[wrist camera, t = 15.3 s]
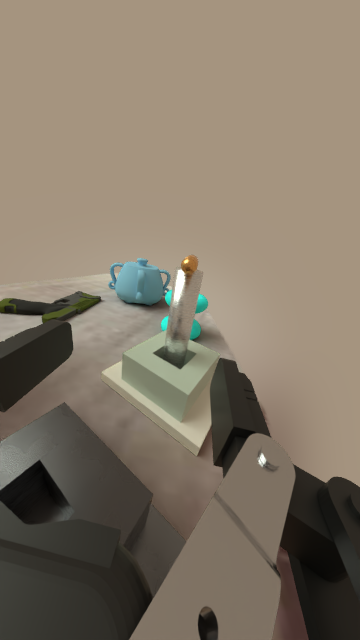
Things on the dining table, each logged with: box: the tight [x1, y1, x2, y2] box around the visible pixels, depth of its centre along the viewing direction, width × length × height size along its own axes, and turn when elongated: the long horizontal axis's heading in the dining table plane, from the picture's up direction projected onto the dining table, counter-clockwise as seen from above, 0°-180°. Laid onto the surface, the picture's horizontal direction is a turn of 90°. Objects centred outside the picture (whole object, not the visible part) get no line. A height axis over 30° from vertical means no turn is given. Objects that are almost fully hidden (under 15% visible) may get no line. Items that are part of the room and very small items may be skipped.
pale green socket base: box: [101, 330, 220, 456], centre depth 25 cm, size 16×12×6 cm
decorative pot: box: [108, 258, 170, 305], centre depth 56 cm, size 16×16×14 cm
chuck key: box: [163, 255, 203, 370], centre depth 22 cm, size 7×3×18 cm, turn 174°
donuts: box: [161, 290, 208, 340], centre depth 41 cm, size 10×10×10 cm
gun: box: [0, 291, 101, 323], centre depth 43 cm, size 2×19×15 cm
